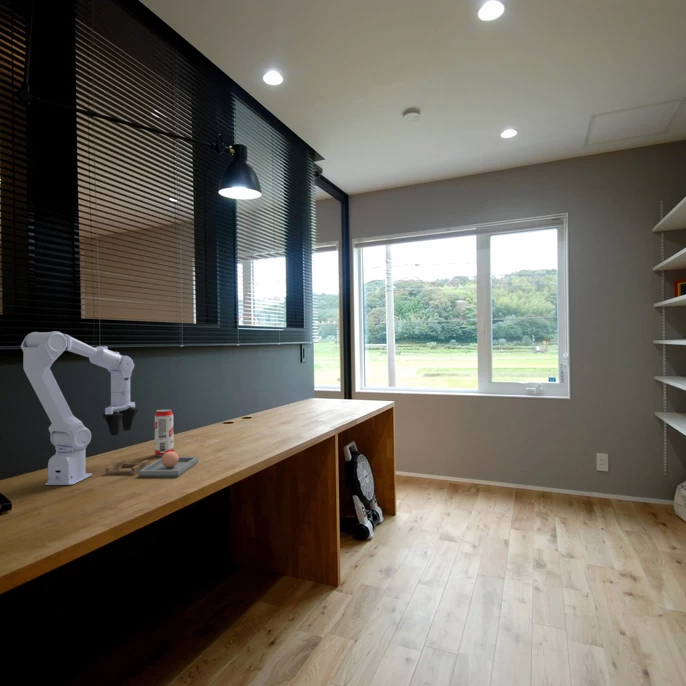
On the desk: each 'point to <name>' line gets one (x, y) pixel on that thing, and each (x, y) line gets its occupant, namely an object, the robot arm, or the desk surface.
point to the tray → (161, 471)
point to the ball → (170, 459)
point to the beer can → (164, 432)
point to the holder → (134, 470)
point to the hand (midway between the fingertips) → (121, 432)
